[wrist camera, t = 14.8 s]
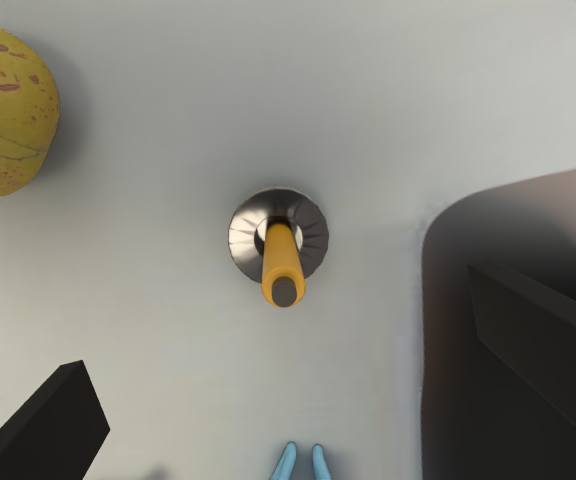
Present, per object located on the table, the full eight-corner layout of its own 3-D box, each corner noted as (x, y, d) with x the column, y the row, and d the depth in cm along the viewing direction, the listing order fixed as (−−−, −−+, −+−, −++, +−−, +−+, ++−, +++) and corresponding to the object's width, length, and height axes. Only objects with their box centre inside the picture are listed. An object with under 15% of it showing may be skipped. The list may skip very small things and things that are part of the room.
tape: (220, 198, 33) (216, 202, 31) (312, 175, 33) (315, 177, 30) (245, 284, 35) (243, 297, 32) (332, 263, 35) (338, 273, 32)
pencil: (262, 223, 34) (255, 279, 19) (288, 217, 34) (301, 268, 19) (269, 248, 34) (267, 322, 20) (294, 242, 34) (312, 311, 20)
